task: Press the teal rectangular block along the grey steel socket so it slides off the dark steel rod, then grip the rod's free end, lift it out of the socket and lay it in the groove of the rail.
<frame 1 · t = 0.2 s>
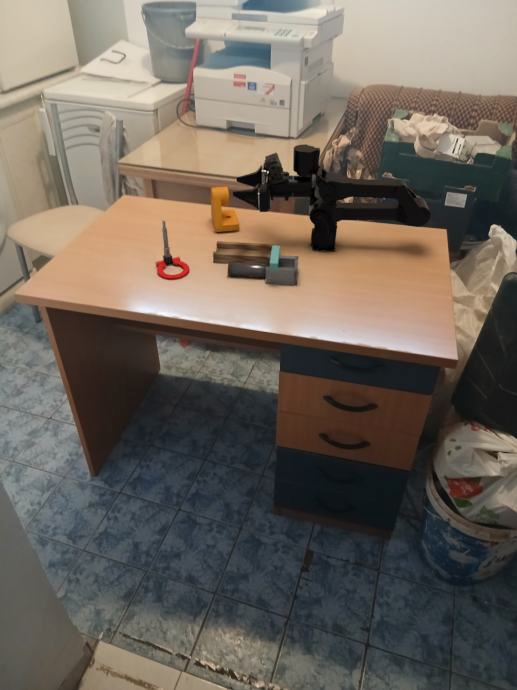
hand: (234, 186, 137), 17 cm above the table, tool horizontal, fingers open, 9 cm apart
tow hook: (173, 271, 136), on the table
rail: (244, 257, 141), on the table
socket: (281, 276, 133), on the table
teal rectangular block: (274, 257, 130), point 5 cm above the table, slide at 0.0 cm
rod: (255, 276, 134), on the table
bracket: (225, 225, 156), on the table
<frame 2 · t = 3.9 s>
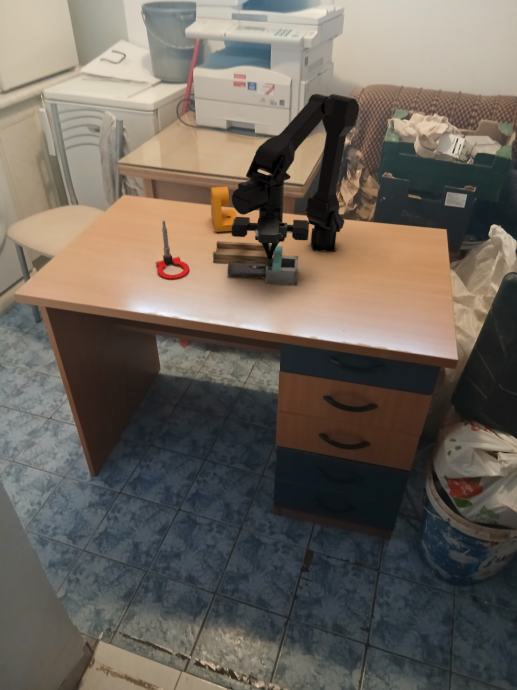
hand: (269, 258, 130), 5 cm above the table, tool pointing down, fingers closed
teal rectangular block: (277, 258, 130), point 5 cm above the table, slide at 0.8 cm, touching gripper
rod: (255, 275, 134), on the table, tilted 12°
everything else where it was.
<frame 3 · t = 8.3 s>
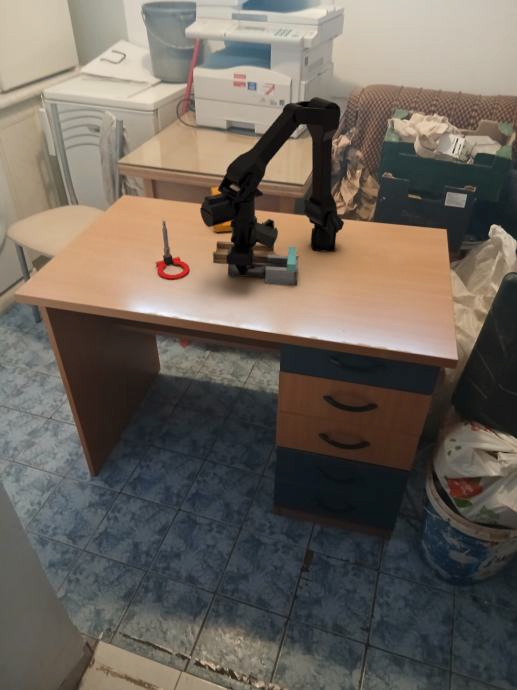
hand: (243, 271, 133), 1 cm above the table, tool pointing down, fingers closed on rod, 4 cm apart
teal rectangular block: (291, 258, 130), point 5 cm above the table, slide at 4.3 cm
rod: (255, 275, 134), on the table, touching gripper
everything else where it was.
when the fingers open (3 cm above the table, at t = 11.9 s): rod drops 1 cm, resting on rail.
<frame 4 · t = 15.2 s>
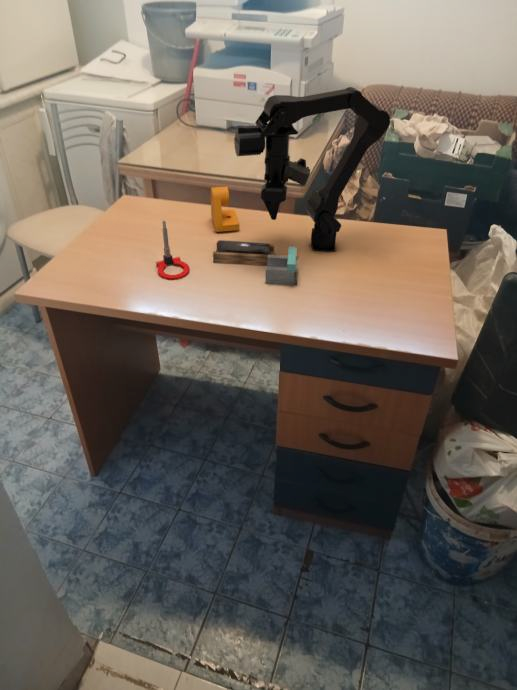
hand: (275, 211, 136), 12 cm above the table, tool pointing down, fingers open, 9 cm apart
rod: (244, 253, 141), point 1 cm above the table, touching rail
everything else where it was.
at the end: teal rectangular block slide at 4.3 cm; rod inside the target area on the rail (0.2 cm from its centre), point 1.0 cm above the rail's base; the gripper is holding nothing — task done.
